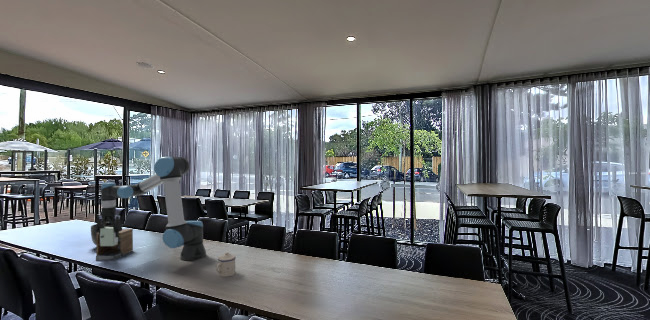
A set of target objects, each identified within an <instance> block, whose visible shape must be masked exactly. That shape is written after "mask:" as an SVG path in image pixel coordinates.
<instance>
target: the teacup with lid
mask: <svg viewBox="0 0 650 320" xmlns="http://www.w3.org/2000/svg"><path fill="white" fill-rule="evenodd" d="M217 260H218V264H217V265H216V267H215V271H216V272H217V274H218V276H219V277H223V278H228V277H231V276H233V275H235V274H236V255H234V254H231V253H230V252H229V251H227V252H224V254H222V255H220V256H219V257H218V259H217Z"/></svg>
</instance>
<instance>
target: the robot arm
mask: <svg viewBox="0 0 650 320" xmlns="http://www.w3.org/2000/svg"><path fill="white" fill-rule="evenodd" d="M190 165H191V164H190V162H189V160H188V159H186V157H183V156H169V155H168V156H162V157H159V158H158V159H157V160H156V161H155V163H154V167H153V170H154V173H155V174H154V175H151V176H150V177H148V178H146V179H144V180H142V181H140V182H138V183H136V184H128V185H127V184H126V185H117V184H116V182H102V183H101V185H100V187H101V188H100V192H101V193H100V203H101V204H100V207H101V208H100V209H101V210H100V211H101V215H96V224H97V225H96V232H99V238H100V229H101V228H105V225H106V223H107V222H110V223H111V224H112V226H113V228H114V231H115V232H114V243H116V242H118V237H119V231H122V229H123V227H122V222H121V217H122V215H117V214H116V213H117V207H116V206H117V198H118V199H129V198H130V197H137V196H144V195H147V194H148V193H149V191H152V190H153V189H155V188H157V187H159V186H161V185H162V184H163V191H164V197H165V199H164V200H165V207H166V214H167V224H166V225H165V231H164V232H163V234H162V241H163V243H164V246H166V247H168V248H170V249H176V248H180V247H182V249H181V252H180V257H179V259H180V260H182V261H195V260H201V259H203V258H205V257H206V256H207V250H206V248H205V247H206V246H205V245H204V224H203V223H204V222H203V221H201V220H185V216H184V206H183V201H182V191H181V185H180V180H181V179H183V178H182V176H184V175H186V174H187V173H188V172H189V171H190V167H191V166H190ZM101 223H102V224H101Z"/></svg>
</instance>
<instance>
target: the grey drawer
mask: <svg viewBox="0 0 650 320" xmlns="http://www.w3.org/2000/svg"><path fill="white" fill-rule="evenodd" d="M118 243H121V237H118ZM118 251H121V245H118ZM122 257H124V255H123V252H105V253H102V254H100V255H98V256H97V255H96V256H95V261H96V262H97V261H99V262H100V261H101V262H102V261H107V262H108V261H115V260H118V259H120V258H122Z"/></svg>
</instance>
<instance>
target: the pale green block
mask: <svg viewBox="0 0 650 320" xmlns="http://www.w3.org/2000/svg"><path fill="white" fill-rule="evenodd" d="M114 232H115V231H114V228H113V227H105V228H101V229H100V246H114V245H117V244H118V242H116V243H114Z"/></svg>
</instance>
